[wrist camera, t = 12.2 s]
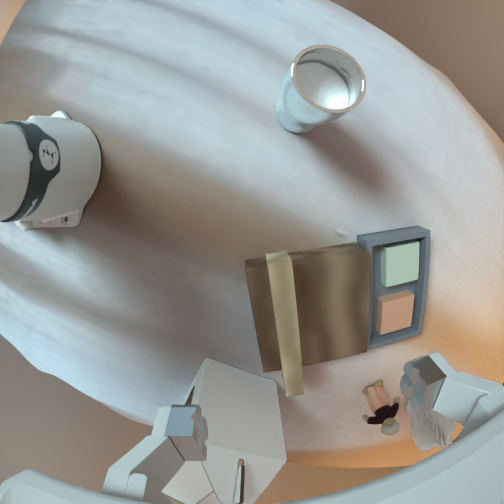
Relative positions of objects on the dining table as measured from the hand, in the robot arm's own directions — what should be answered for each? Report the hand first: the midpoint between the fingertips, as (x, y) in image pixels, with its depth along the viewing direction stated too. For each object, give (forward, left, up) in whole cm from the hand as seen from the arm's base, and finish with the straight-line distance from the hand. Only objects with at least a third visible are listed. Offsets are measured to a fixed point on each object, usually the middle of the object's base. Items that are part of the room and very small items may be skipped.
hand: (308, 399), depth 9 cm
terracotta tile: (+19, -16, -27) cm, 37 cm away
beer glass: (+7, +15, -30) cm, 34 cm away
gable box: (-13, -32, -30) cm, 45 cm away
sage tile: (+20, -7, -27) cm, 34 cm away
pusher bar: (+1, -12, -25) cm, 27 cm away
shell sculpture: (+30, -44, -30) cm, 61 cm away
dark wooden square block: (+5, -12, -30) cm, 32 cm away
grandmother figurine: (+17, -35, -30) cm, 49 cm away
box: (+19, -12, -30) cm, 37 cm away
